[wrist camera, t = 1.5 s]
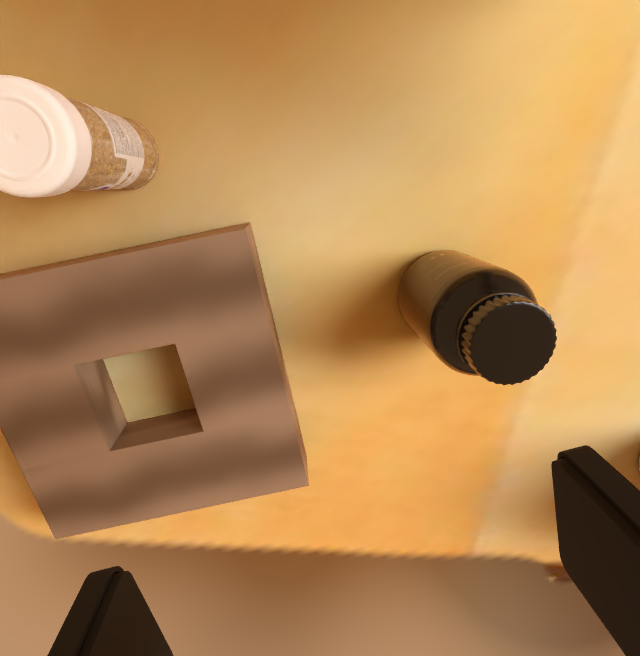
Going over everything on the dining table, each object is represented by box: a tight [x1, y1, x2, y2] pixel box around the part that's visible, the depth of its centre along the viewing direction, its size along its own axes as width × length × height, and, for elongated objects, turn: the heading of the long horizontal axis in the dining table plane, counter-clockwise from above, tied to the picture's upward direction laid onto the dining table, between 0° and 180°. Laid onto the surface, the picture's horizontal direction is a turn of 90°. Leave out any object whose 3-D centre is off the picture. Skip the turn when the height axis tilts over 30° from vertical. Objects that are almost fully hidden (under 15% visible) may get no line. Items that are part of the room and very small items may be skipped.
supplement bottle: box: [398, 250, 557, 385], centre depth 29 cm, size 7×7×12 cm
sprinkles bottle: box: [0, 75, 158, 198], centre depth 24 cm, size 5×5×13 cm
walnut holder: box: [0, 223, 309, 539], centre depth 34 cm, size 20×20×4 cm
